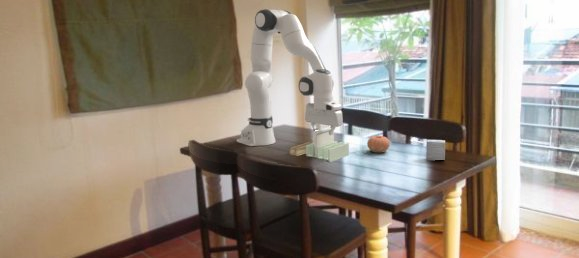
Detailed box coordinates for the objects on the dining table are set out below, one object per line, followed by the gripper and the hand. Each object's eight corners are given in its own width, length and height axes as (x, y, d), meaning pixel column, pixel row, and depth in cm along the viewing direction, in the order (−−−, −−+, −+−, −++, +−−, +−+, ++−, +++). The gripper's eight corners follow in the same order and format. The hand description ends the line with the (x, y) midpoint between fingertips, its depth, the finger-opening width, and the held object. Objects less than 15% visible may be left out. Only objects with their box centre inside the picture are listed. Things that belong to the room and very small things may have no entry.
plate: (314, 156, 221) (314, 131, 219) (331, 150, 230) (331, 126, 228) (317, 157, 220) (316, 131, 218) (334, 151, 229) (333, 127, 227)
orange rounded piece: (380, 147, 237) (380, 132, 235) (394, 152, 227) (394, 136, 226) (362, 151, 232) (362, 135, 230) (376, 155, 222) (376, 139, 221)
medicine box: (444, 158, 214) (445, 140, 212) (444, 161, 209) (445, 142, 208) (426, 157, 216) (427, 139, 214) (426, 160, 212) (426, 141, 210)
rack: (306, 157, 223) (305, 145, 222) (325, 150, 234) (325, 139, 233) (329, 162, 214) (329, 149, 213) (348, 155, 225) (348, 142, 224)
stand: (288, 155, 228) (288, 147, 227) (309, 148, 239) (309, 141, 238) (297, 157, 224) (297, 149, 223) (319, 150, 235) (318, 142, 234)
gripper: (301, 103, 225) (302, 131, 228) (336, 107, 211) (336, 137, 214) (310, 101, 229) (310, 129, 232) (344, 105, 216) (344, 135, 219)
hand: (323, 133), depth 223 cm, fingers open, 8 cm apart
